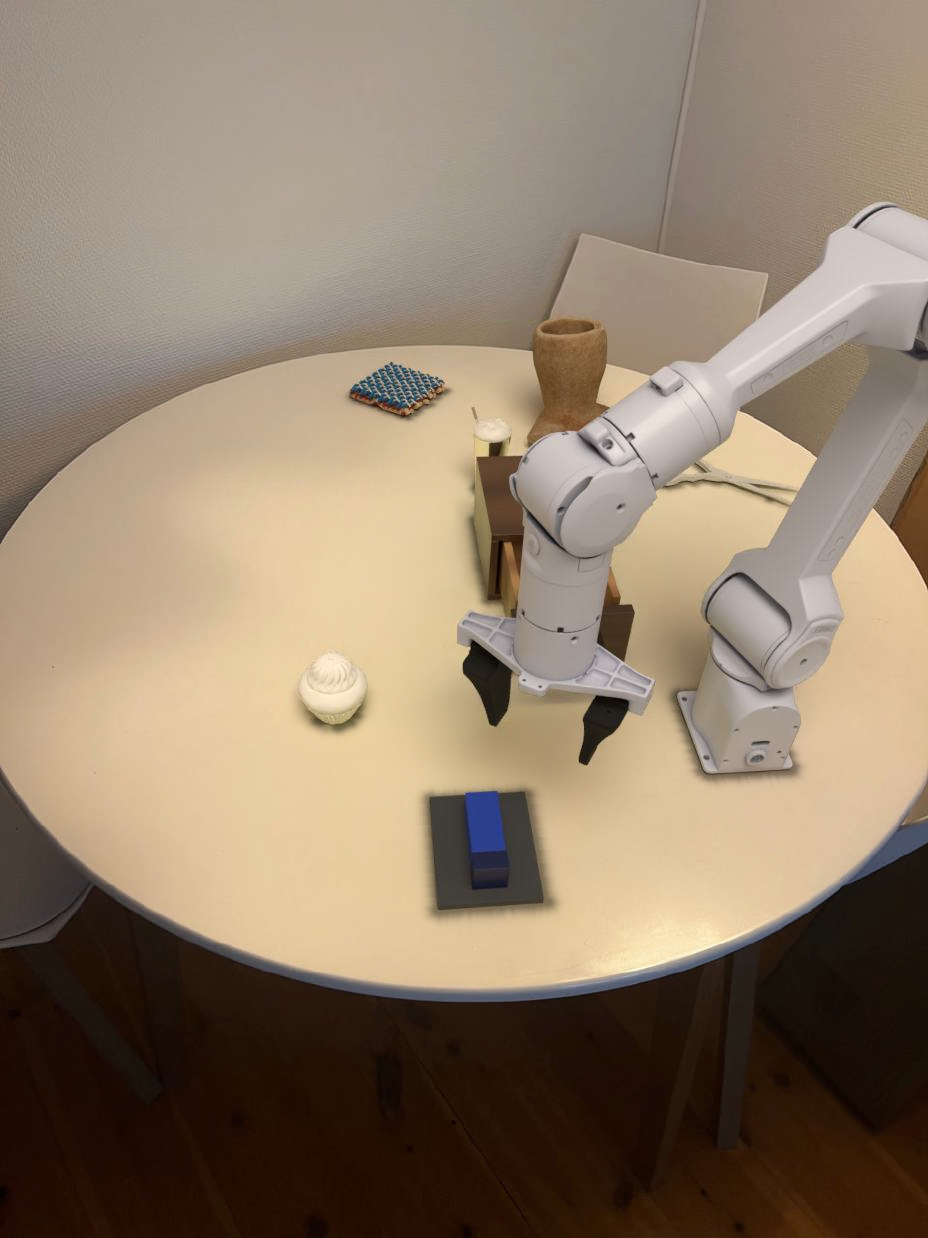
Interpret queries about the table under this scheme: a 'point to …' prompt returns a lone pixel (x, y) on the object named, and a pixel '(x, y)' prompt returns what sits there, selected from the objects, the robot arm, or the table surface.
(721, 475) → the scissors
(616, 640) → the drawer
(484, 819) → the block
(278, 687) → the table surface
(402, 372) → the woven mat
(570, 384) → the stone cup
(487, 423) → the milkshake
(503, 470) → the cabinet
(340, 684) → the muffin
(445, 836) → the desk pad
